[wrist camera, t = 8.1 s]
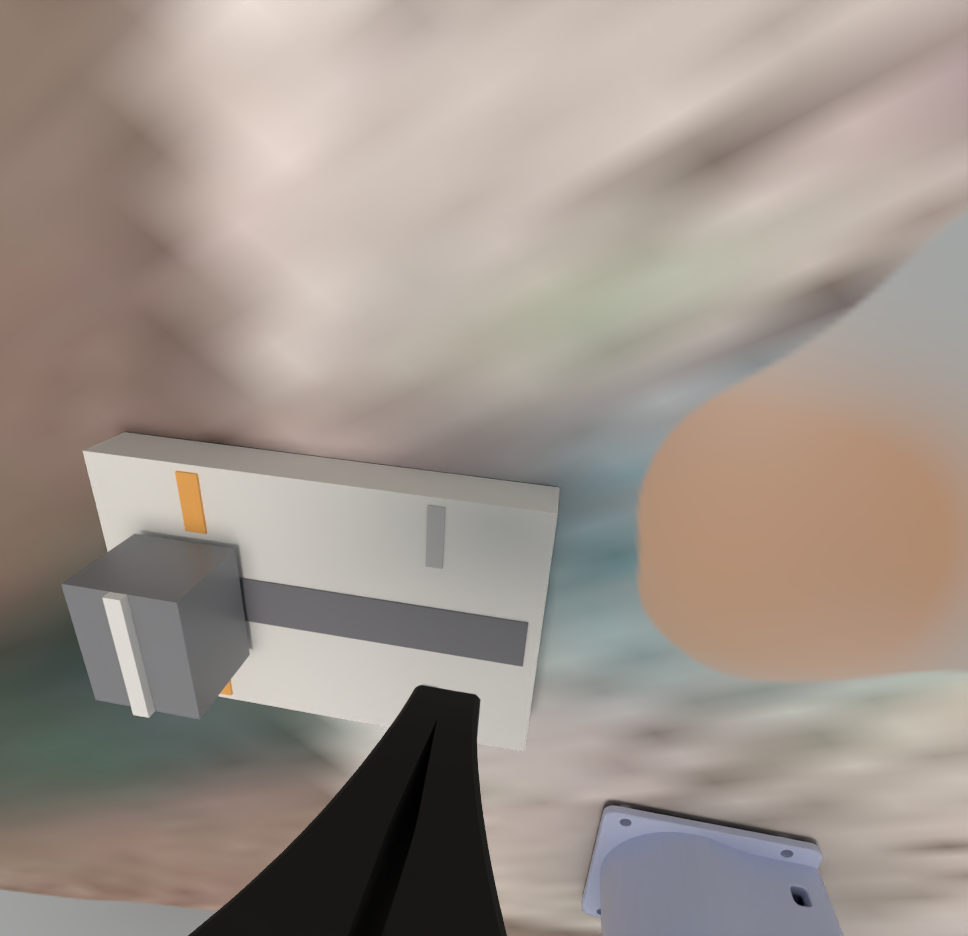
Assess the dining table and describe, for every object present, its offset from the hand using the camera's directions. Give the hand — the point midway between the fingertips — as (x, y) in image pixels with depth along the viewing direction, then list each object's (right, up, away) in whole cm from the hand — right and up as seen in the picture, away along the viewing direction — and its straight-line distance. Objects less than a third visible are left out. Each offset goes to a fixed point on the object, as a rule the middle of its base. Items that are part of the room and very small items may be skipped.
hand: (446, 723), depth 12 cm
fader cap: (-10, +1, +9) cm, 14 cm away
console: (-5, +1, +11) cm, 12 cm away
